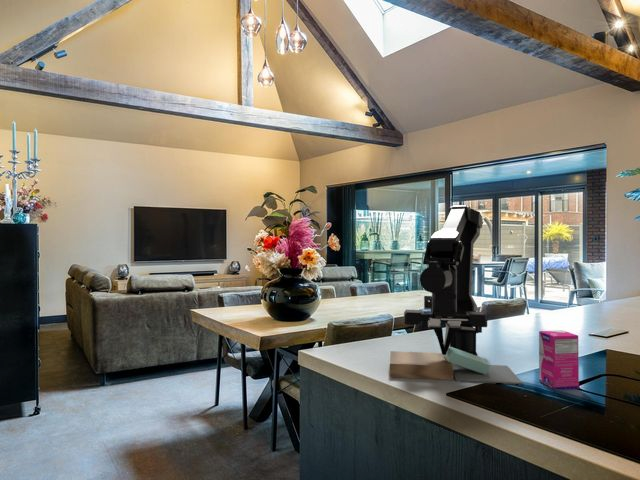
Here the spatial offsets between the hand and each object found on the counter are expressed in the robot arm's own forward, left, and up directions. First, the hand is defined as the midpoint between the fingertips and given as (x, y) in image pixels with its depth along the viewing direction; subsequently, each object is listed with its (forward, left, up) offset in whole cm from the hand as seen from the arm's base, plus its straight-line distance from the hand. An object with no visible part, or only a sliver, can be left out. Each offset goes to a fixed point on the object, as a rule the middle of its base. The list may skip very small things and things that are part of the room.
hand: (443, 354), depth 108 cm
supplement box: (-23, +6, -4) cm, 25 cm away
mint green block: (-5, 0, -1) cm, 5 cm away
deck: (+6, 0, -4) cm, 7 cm away
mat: (-9, 0, -4) cm, 10 cm away
